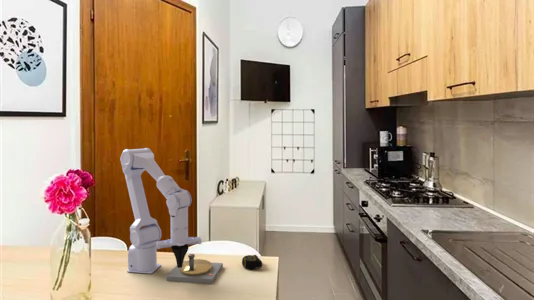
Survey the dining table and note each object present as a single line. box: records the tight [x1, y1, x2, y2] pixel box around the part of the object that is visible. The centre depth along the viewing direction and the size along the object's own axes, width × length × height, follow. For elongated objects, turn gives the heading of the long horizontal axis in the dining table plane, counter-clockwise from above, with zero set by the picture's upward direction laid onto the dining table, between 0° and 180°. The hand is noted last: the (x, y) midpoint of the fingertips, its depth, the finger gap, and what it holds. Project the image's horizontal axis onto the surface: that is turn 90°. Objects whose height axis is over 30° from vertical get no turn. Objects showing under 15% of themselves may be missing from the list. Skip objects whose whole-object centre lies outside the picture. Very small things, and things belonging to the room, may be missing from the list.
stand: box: [165, 260, 224, 285], centre depth 128 cm, size 16×14×2 cm
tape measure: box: [241, 254, 263, 270], centre depth 134 cm, size 7×7×4 cm
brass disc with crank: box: [180, 253, 212, 276], centre depth 127 cm, size 11×11×7 cm
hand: (179, 266), depth 121 cm, fingers closed
